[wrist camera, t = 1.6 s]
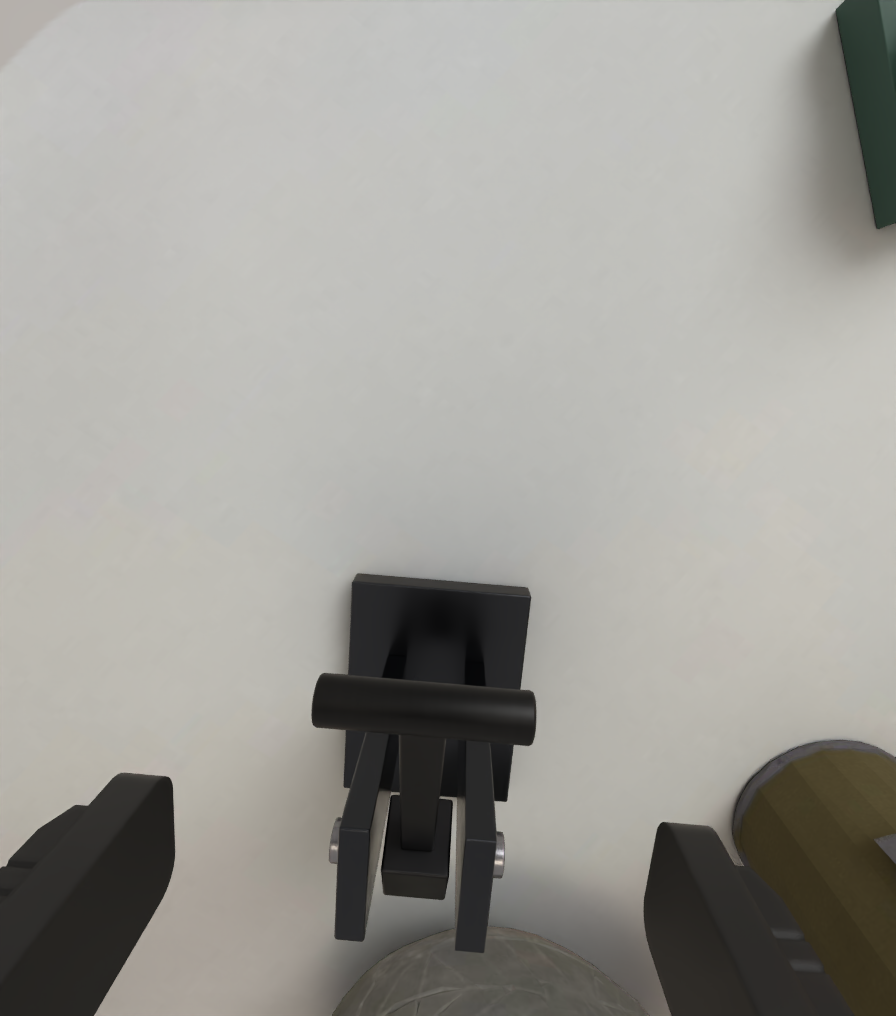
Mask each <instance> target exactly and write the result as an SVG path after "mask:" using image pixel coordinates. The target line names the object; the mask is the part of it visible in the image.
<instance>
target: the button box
mask: <svg viewBox="0 0 896 1016" xmlns="http://www.w3.org/2000/svg"><path fill="white" fill-rule="evenodd" d="M836 14H837V19H838V25H839V30H840V35H841V40H842V46H843V51H844V56H845V62H846V67H847V72H848V77H849V83H850V88H851V93H852V99H853V104H854V109H855V114H856V120H857V125H858V130H859V135H860V141H861V146H862V151H863V157H864V162H865V167H866V172H867V178H868V183H869V188H870V194H871V199H872V204H873V209H874V215H875V220H876V225H877V229H880V228H883V227H885V226H888V225H891V224H893V223H896V0H845V1H844V2H843V3H842V4H841V5H840V6H839V7H838V8H837V9H836Z"/></svg>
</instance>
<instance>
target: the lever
mask: <svg viewBox="0 0 896 1016" xmlns="http://www.w3.org/2000/svg"><path fill="white" fill-rule="evenodd" d="M312 723H313V726H315V727H317V728H328V729H340V730H351V731H363V732H374V733H386V734H397V735H399V770H400V795H392V796H391V798H390V805H389V813H388V820H387V828H386V836H385V843H384V851H383V858H382V866H381V875H382V885H383V893H384V894H385V895H393V896H404V897H415V898H426V899H438V900H443V899H444V898H445V894H446V889H447V883H448V878H449V864H450V846H451V827H452V809H453V802H452V800H446V799H439V798H440V789H441V780H442V771H443V762H444V753H445V744H446V739H455V740H466V741H478V742H489V743H501V744H512V745H524V746H530V745H532V743H533V740H534V737H535V730H536V700H535V696H534V693H533V692H532V691H529V690H518V689H506V688H494V687H483V686H471V685H460V684H448V683H436V682H425V681H413V680H401V679H390V678H378V677H366V676H355V675H343V674H331V673H323V674H321V675H320V677H319V679H318V681H317V683H316V687H315V690H314V695H313V701H312Z"/></svg>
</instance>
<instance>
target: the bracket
mask: <svg viewBox="0 0 896 1016" xmlns="http://www.w3.org/2000/svg"><path fill="white" fill-rule="evenodd" d="M530 602H531V596H530V592H529V589H528V588H526V587H514V586H502V585H490V584H478V583H466V582H454V581H442V580H430V579H418V578H406V577H394V576H382V575H370V574H357V575H356V576H355V578H354V580H353V582H352V599H351V623H350V647H349V670H348V675H355V676H366V677H378V678H390V679H401V680H413V681H425V682H436V683H448V684H460V685H471V686H483V687H494V688H506V689H518V690H520V687H521V679H522V670H523V662H524V653H525V645H526V636H527V628H528V619H529V611H530ZM513 747H514V745H512V744H501V743H489V742H478V741H466V740H455V739H446V744H445V753H444V762H443V771H442V780H441V789H440V796H446V797H457V830H456V887H455V943H454V949H455V951H463V952H474V953H484V951H485V943H486V934H487V926H488V917H489V908H490V900H491V891H492V882H493V878H502V876H503V872H504V861H505V842H504V835H503V832H497V831H496V819H495V805H494V801H503V802H506V801H507V798H508V789H509V781H510V772H511V764H512V755H513ZM344 787H345V788H350V791H349V794H348V798H347V801H346V805H345V808H344V812H343V815H342V818H339V817H338V818H336V820H335V823H334V826H333V830H332V835H331V841H330V849H329V861H330V863H333V864H337V886H336V910H335V935H334V936H335V939H338V940H349V941H360V942H362V941H363V940H364V938H365V932H366V927H367V921H368V916H369V910H370V905H371V899H372V893H373V888H374V882H375V877H376V871H377V866H378V860H379V855H380V849H381V844H382V838H383V832H384V827H385V821H386V816H387V810H388V805H389V799H390V794H391V792H400V770H399V735H397V734H386V733H374V732H363V731H351V730H346V741H345V764H344Z"/></svg>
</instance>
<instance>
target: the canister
mask: <svg viewBox="0 0 896 1016" xmlns="http://www.w3.org/2000/svg"><path fill="white" fill-rule="evenodd" d="M733 837H734V841H735V845H736V848H737V851H738V853H739V856H740V859H741V860H742V862H743V864H744V865H745V866H746V867H750V868H751V869H753V870H754V871H755V872H756V873H757V874H758V875H759V876H760V877H761V878H762V879H763V880H764V881H765V882H766V883H767V884H768V885H769V886H770V887H771V888H772V889H773V890H774V891H775V892H776V893H777V894H778V895H779V896H780V897H781V898H782V899H783V901H784V902H785V904H786V906H787V907H788V909H789V910H790V912H791V914H792V915H793V917H794V919H795V920H796V922H797V923H798V925H799V927H800V928H801V930H802V931H803V933H804V938H805V941H806V942H809V943H810V944H811V946H812V948H813V949H814V951H815V952H816V954H817V956H818V957H819V959H820V961H821V962H822V964H823V965H824V971H825V973H826V974H829V975H830V977H831V978H832V980H833V982H834V983H835V985H836V986H837V988H838V990H839V991H840V993H841V994H842V996H843V998H844V999H845V1001H846V1003H847V1004H848V1006H849V1007H850V1009H851V1011H852V1012H853V1014H854V1016H896V757H894V756H892V755H890V754H888V753H887V752H885V751H883V750H881V749H880V748H878V747H875V746H871V745H868V744H865V743H862V742H855V741H846V740H836V741H824V742H816V743H812V744H808V745H805V746H801V747H798V748H796V749H794V750H792V751H790V752H788V753H786V754H784V755H782V756H780V757H779V758H777V759H775V760H773V761H771V762H769V763H768V764H767V765H766V766H765V767H764V768H763V769H762V770H761V771H760V772H759V773H758V774H757V775H756V776H755V777H754V778H753V779H752V780H751V781H750V782H749V784H748V785H747V787H746V788H745V790H744V792H743V793H742V796H741V798H740V800H739V802H738V805H737V808H736V811H735V818H734V826H733Z"/></svg>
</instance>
